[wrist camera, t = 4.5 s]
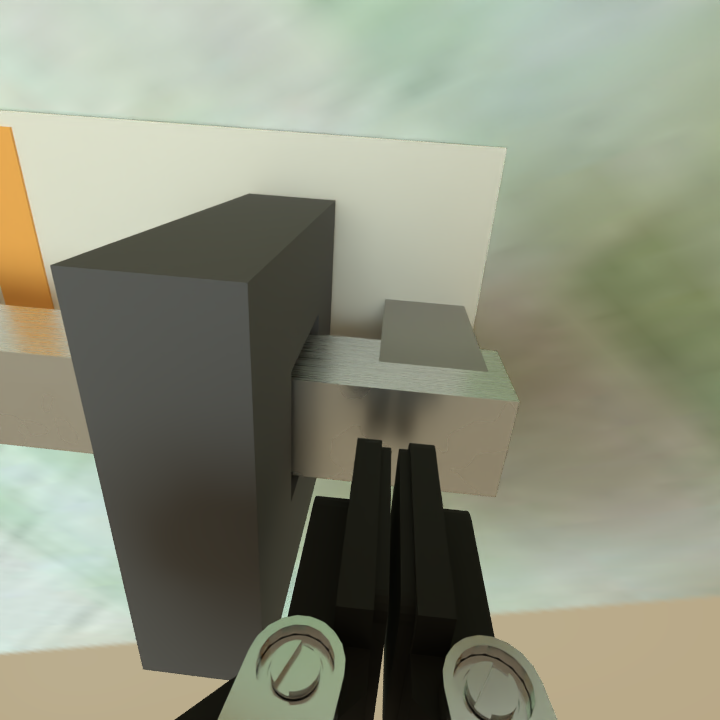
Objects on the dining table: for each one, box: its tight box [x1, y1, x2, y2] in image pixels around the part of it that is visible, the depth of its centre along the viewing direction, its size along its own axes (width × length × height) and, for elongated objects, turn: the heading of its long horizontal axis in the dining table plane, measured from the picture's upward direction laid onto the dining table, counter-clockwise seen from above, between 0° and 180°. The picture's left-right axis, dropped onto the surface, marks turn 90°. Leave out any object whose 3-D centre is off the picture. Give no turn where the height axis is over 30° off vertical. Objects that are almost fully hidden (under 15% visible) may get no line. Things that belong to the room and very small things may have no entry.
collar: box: [50, 193, 336, 680], centre depth 13 cm, size 3×10×10 cm, turn 176°
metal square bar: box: [0, 304, 520, 497], centre depth 14 cm, size 24×3×3 cm, turn 86°
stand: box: [0, 110, 507, 372], centre depth 17 cm, size 24×14×6 cm, turn 86°
